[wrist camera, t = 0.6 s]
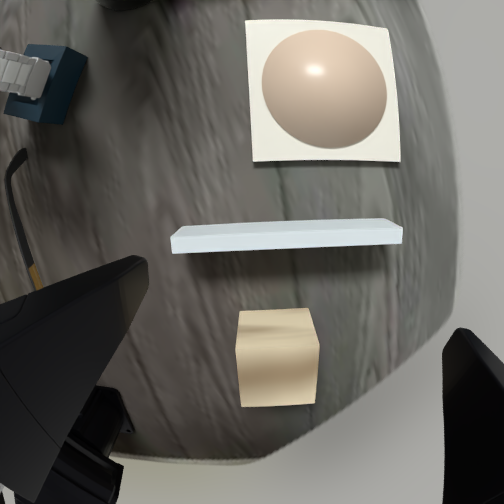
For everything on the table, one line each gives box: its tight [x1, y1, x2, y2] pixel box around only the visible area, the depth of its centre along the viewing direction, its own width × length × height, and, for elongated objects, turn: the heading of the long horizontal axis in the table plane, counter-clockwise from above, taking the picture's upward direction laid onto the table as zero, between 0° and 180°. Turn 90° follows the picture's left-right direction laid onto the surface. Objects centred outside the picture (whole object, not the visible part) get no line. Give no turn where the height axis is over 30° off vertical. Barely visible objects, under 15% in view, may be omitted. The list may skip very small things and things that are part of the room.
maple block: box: [235, 308, 320, 407], centre depth 21 cm, size 5×5×5 cm
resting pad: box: [245, 20, 400, 162], centre depth 18 cm, size 10×10×1 cm
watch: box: [0, 44, 88, 125], centre depth 12 cm, size 6×8×11 cm
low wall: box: [170, 218, 403, 254], centre depth 19 cm, size 1×14×3 cm, turn 93°
